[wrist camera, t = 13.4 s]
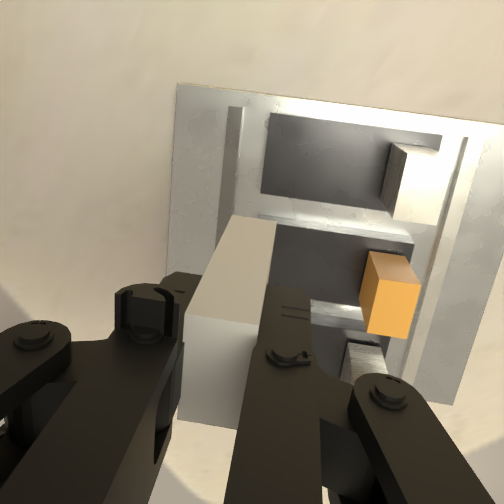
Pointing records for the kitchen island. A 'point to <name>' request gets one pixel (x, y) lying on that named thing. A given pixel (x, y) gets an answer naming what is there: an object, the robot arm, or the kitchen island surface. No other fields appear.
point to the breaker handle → (388, 295)
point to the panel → (349, 217)
